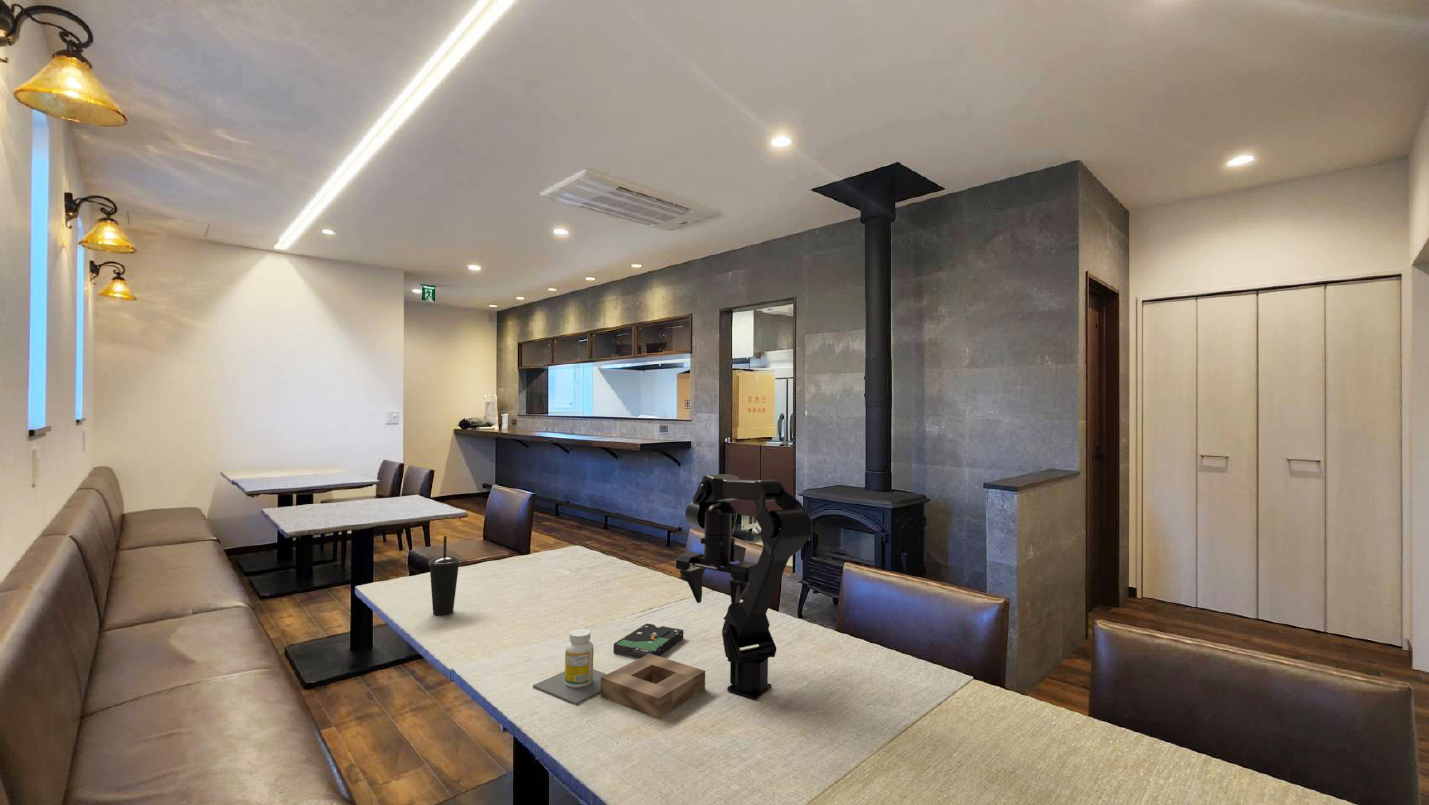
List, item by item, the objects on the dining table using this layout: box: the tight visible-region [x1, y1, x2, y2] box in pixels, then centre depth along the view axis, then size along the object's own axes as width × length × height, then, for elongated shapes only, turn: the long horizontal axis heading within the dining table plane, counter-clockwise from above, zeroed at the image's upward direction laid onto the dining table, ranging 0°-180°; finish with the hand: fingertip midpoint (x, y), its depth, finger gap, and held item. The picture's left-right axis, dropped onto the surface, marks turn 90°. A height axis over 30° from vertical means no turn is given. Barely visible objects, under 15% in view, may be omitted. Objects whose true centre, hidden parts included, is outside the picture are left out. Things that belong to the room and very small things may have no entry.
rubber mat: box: [532, 668, 608, 706], centre depth 115 cm, size 12×12×1 cm
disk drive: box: [613, 623, 684, 660], centre depth 135 cm, size 10×3×15 cm
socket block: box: [599, 654, 706, 720], centre depth 112 cm, size 14×14×4 cm
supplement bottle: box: [564, 628, 595, 688], centre depth 115 cm, size 5×5×10 cm
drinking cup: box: [428, 535, 461, 617], centre depth 156 cm, size 8×8×20 cm
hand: (716, 606), depth 126 cm, fingers open, 9 cm apart
